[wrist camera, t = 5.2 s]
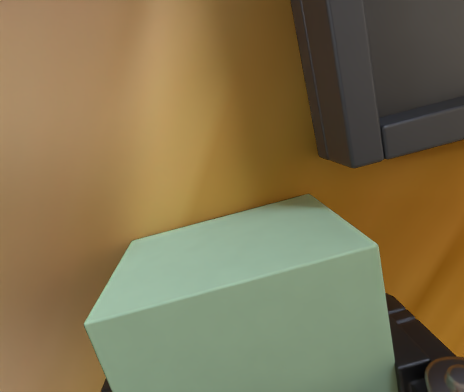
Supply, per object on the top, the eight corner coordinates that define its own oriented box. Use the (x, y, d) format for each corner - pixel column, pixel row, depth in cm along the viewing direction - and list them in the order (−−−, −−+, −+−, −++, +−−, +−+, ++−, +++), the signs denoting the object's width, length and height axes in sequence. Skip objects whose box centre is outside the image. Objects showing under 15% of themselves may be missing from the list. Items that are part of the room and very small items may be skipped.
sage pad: (199, 431, 11) (196, 590, 8) (131, 240, 10) (81, 324, 6) (347, 389, 12) (419, 526, 8) (309, 193, 10) (379, 244, 6)
